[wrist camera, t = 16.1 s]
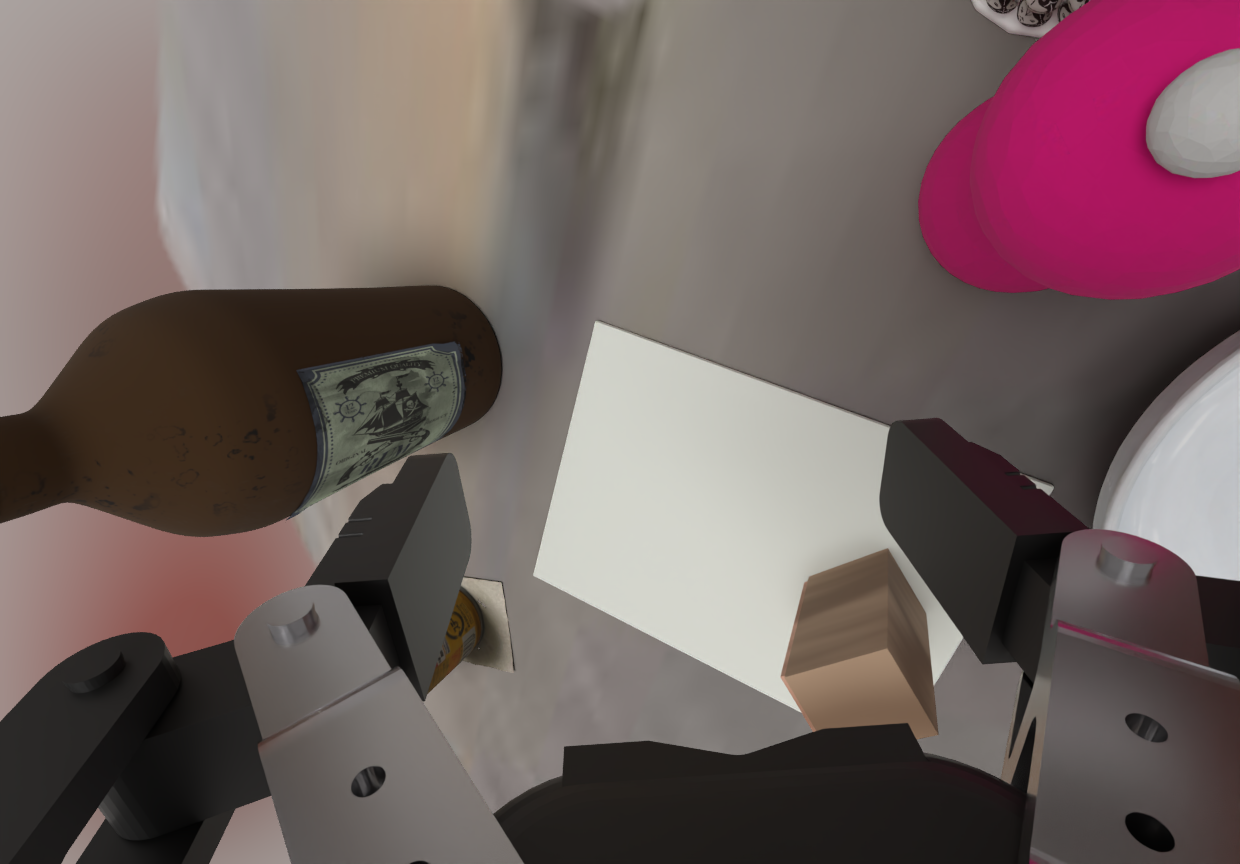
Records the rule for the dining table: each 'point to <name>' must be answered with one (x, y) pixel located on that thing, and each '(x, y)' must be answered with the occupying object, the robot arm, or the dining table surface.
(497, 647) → the condiment
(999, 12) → the decorative candle
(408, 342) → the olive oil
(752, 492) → the rubber mat
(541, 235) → the dining table surface
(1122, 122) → the pepper mill
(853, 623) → the walnut block
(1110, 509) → the serving bowl
